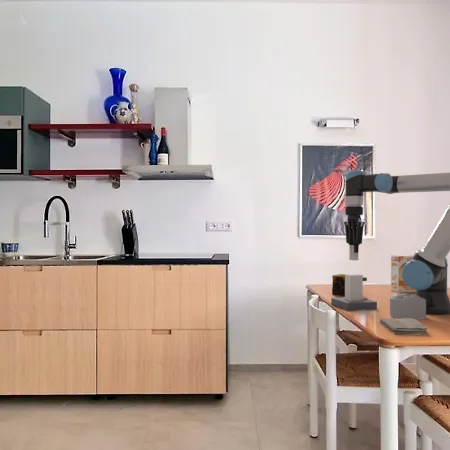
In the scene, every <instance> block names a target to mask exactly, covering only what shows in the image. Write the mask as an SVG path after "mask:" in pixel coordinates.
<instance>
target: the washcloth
mask: <svg viewBox="0 0 450 450" xmlns="http://www.w3.org/2000/svg"><path fill="white" fill-rule="evenodd" d="M379 323H380V324H381V325H382V324H383V325H384V326H383V325H382V326H383V327H384V328H386V329H387V328H388V329H389V330H388V329H387V330H388V331H389V332H391V333H392V332H393V333H394V334H393V333H392V334H393V335H401V334H428V335H429V333H428V332H427V331H428V327H427V326H426V325H425V324H424V323H421V322H420V321H419V320H418V319H413V318H393V317H389V318H386V317H385V318H383V317H382V318H380V320H379ZM396 333H397V334H396Z"/></svg>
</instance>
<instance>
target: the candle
mask: <svg viewBox="0 0 450 450" xmlns="http://www.w3.org/2000/svg"><path fill="white" fill-rule="evenodd" d="M331 278H332V287H331V294H332V295H334V296H341V297H345V274H344V273H340V274H339V273H337V274H334V275H333V274H332V277H331Z"/></svg>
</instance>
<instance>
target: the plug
mask: <svg viewBox="0 0 450 450" xmlns="http://www.w3.org/2000/svg"><path fill="white" fill-rule="evenodd" d="M367 281H368V278H367V277H365V276H363V274H358V273H348V274H347V273H346V274H345V296H344V297H345V299H346V300H349V301H361V300H363V297H364V296H363V293H364V292H363V290H364V289H363V288H364V287H363V285H364V284H363V283H364V282H367Z"/></svg>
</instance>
